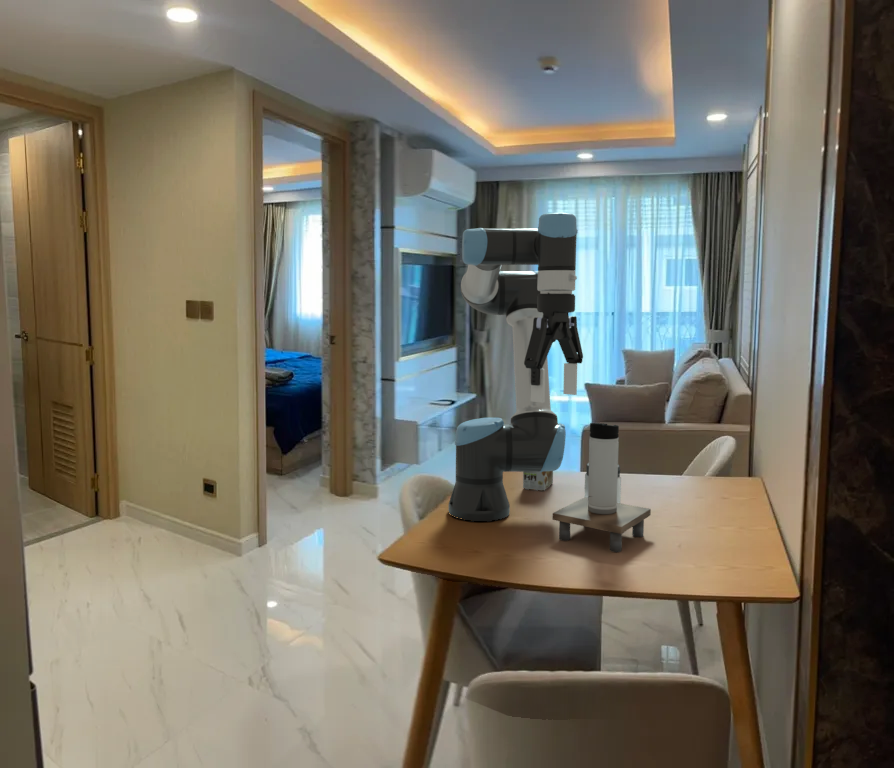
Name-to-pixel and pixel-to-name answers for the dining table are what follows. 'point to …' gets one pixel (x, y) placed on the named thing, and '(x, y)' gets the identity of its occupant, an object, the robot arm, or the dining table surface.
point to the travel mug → (603, 468)
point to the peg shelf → (602, 521)
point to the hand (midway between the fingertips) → (554, 398)
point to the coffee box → (537, 480)
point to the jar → (617, 483)
